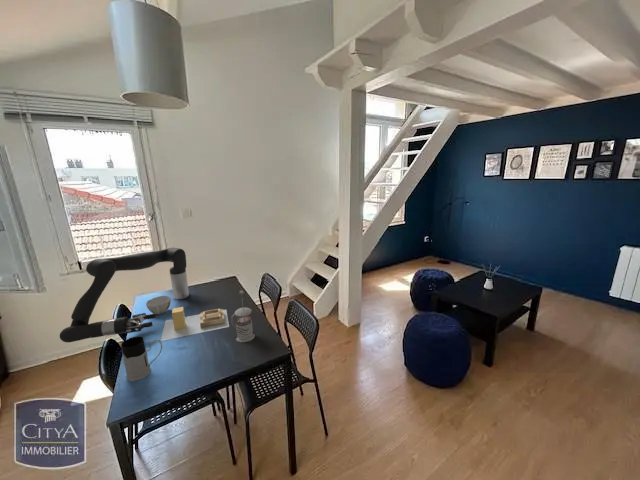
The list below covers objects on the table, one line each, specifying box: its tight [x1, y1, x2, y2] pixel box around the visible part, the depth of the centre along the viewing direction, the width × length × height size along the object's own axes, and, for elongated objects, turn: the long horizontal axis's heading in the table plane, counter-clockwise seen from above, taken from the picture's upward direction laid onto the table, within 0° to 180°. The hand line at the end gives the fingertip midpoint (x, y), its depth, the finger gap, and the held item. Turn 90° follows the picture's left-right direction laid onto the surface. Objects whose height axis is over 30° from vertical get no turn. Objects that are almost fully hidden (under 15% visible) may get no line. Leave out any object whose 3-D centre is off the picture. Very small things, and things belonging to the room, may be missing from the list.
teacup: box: [145, 295, 172, 315], centre depth 160 cm, size 15×12×8 cm
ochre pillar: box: [171, 306, 186, 330], centre depth 145 cm, size 5×5×10 cm
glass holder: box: [120, 336, 163, 382], centre depth 113 cm, size 9×14×15 cm, turn 114°
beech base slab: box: [199, 308, 225, 328], centre depth 151 cm, size 12×12×4 cm
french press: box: [230, 290, 256, 343], centre depth 136 cm, size 10×12×25 cm
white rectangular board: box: [160, 309, 230, 342], centre depth 149 cm, size 20×32×1 cm, turn 113°
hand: (153, 319), depth 140 cm, fingers open, 8 cm apart
